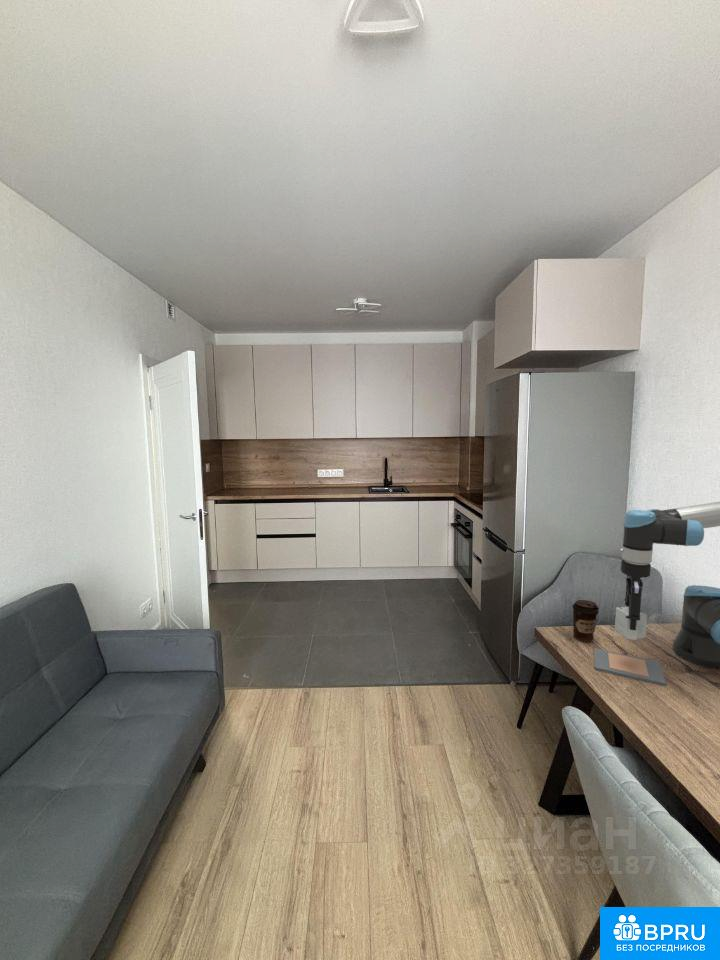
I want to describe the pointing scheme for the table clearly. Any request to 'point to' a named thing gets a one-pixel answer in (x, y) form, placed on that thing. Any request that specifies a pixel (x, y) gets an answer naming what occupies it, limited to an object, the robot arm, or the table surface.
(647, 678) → the card
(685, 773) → the table surface
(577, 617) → the coffee cup
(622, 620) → the skincare box
